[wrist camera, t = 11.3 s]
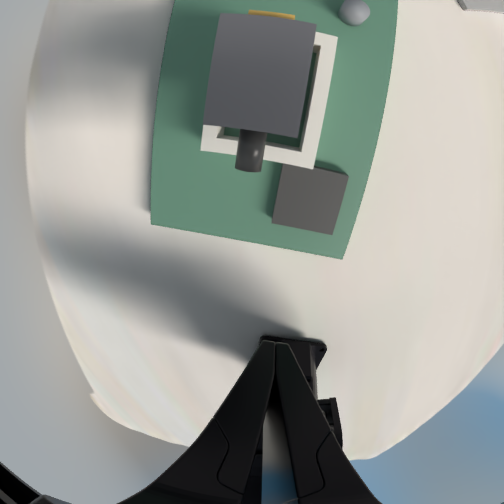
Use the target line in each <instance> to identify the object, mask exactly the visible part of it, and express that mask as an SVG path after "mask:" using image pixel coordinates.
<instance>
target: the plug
mask: <svg viewBox="0 0 504 504" xmlns="http://www.w3.org/2000/svg"><path fill="white" fill-rule="evenodd" d="M316 27H317V24H314V23H309V22H304V21H298V20H295V15H291V14H284V13H277V12H268V11H258V10H249V12H248V14H231V13H220V18H219V23H218V28H217V33H216V38H215V44H214V50H213V55H212V61H211V68H210V74H209V81H208V88H207V95H206V102H205V110H204V118H203V125H211V126H221V127H229V128H238V129H240V132H239V139H238V146H237V154H236V161H235V168H236V169H237V170H241V171H245V172H261V169H262V163H263V156H264V150H265V144H266V138H267V133H271V134H277V135H283V136H288V137H293V138H298V133H299V128H300V122H301V117H302V111H303V106H304V100H305V94H306V88H307V83H308V77H309V71H310V65H311V59H312V52H313V46H314V40H315V33H316Z"/></svg>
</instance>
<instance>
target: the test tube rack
mask: <svg viewBox="0 0 504 504" xmlns="http://www.w3.org/2000/svg"><path fill="white" fill-rule="evenodd" d="M457 1H458V2H459V4H460V6H461V7H462V9H463V10H464V11H483V12H494V13H502V14H504V0H457Z"/></svg>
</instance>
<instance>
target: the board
mask: <svg viewBox="0 0 504 504" xmlns="http://www.w3.org/2000/svg"><path fill="white" fill-rule="evenodd" d="M397 9H398V0H175V2H174V6H173V10H172V14H171V19H170V23H169V28H168V32H167V37H166V43H165V48H164V54H163V59H162V65H161V72H160V79H159V86H158V94H157V102H156V112H155V122H154V134H153V149H152V168H151V224H152V225H158V226H163V227H169V228H175V229H180V230H186V231H192V232H197V233H203V234H208V235H214V236H219V237H225V238H230V239H236V240H241V241H247V242H252V243H258V244H263V245H268V246H274V247H279V248H284V249H290V250H295V251H300V252H306V253H311V254H316V255H321V256H327V257H332V258H337V259H343V256H344V254H345V251H346V248H347V245H348V242H349V239H350V236H351V233H352V230H353V227H354V224H355V221H356V217H357V214H358V211H359V208H360V204H361V201H362V198H363V194H364V191H365V187H366V184H367V180H368V176H369V173H370V169H371V165H372V161H373V157H374V153H375V149H376V145H377V140H378V136H379V132H380V127H381V122H382V118H383V113H384V108H385V103H386V97H387V92H388V86H389V80H390V73H391V67H392V59H393V52H394V43H395V34H396V23H397ZM249 10H258V11H268V12H277V13H284V14H291V15H295V20H298V21H304V22H309V23H314V24H317V27H316V33H315V40H314V46H313V52H312V59H311V65H310V71H309V77H308V83H307V88H306V94H305V100H304V106H303V111H302V117H301V122H300V128H299V133H298V138H293V137H288V136H283V135H277V134H271V133H267V138H266V144H265V150H264V156H263V163H262V169H261V172H245V171H241V170H237V169H236V168H235V161H236V154H237V146H238V139H239V132H240V129H238V128H229V127H221V126H211V125H203V118H204V110H205V102H206V95H207V88H208V81H209V74H210V68H211V61H212V55H213V50H214V44H215V38H216V33H217V28H218V23H219V18H220V13H231V14H248V12H249Z"/></svg>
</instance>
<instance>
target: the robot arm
mask: <svg viewBox="0 0 504 504" xmlns="http://www.w3.org/2000/svg"><path fill="white" fill-rule="evenodd" d="M321 348H322V349H321ZM326 351H327V346H326V345H325V344H322V343H314V342H306V341H299V340H292V339H285V338H279V337H272V336H262V337H261V338H260V342H259V346H258V348H257V350H256V352H255V353H254V355H253V357H252V358H251V360H250V361H249V363H248V365H247V366H246V368H245V369H244V371H243V372H242V374H241V376H240V377H239V379H238V380H237V382H236V383H235V385H234V386H233V388H232V389H231V391H230V392H229V394H228V395H227V397H226V399H225V400H224V402H223V403H222V404H221V406H220V407H219V409H218V410H217V412H216V413H215V415H214V416H213V418H212V419H211V420H210V422H209V423H208V425H207V426H206V428H205V429H204V430H203V431H202V433H201V434H200V435H199V437H198V438H197V439H196V440H195V442H194V443H193V444H192V445H191V446H190V447H189V448H188V449H187V450H186V451H185V452H184V453H183V454H182V455H181V456H180V457H179V458H178V459H177V460H176V461H175V462H174V463H173V464H172V465H171V466H170V467H169V468H168V469H167V470H166V471H165V472H164V473H162V474H161V475H160V476H159V477H158V478H157V479H156V480H155V481H153V482H152V483H151V484H150V485H148V486H147V487H146V488H144V489H143V490H141V491H139V492H138V493H136V494H134V495H133V496H131V497H129V498H127V499H125V500H123V501H121V502H120V503H117V504H382V503H381V502H379V501H378V500H377V499H376V498H375V497H374V495H373V494H372V493H371V491H370V490H369V489H368V487H367V486H366V484H365V483H364V482H363V480H362V479H361V478H360V476H359V475H358V473H357V472H356V470H355V469H354V468H353V466H352V465H351V463H350V462H349V460H348V458H347V457H346V455H345V454H344V452H343V450H342V445H343V440H342V429H341V423H340V418H339V412H338V407H337V402H336V397H334V398H329V399H320V400H318V396H317V377H316V369H317V368H318V366H319V364H320V362H321V360H322V358H323V357H324V355H325V353H326ZM0 504H71V503H68V502H65V501H62V500H59V499H56V498H54V497H51V496H48V495H42V494H40V493H39V492H37V491H36V490H35V489H33V488H32V487H30V486H29V485H28V484H26V483H25V482H24V481H23V480H21V479H20V478H19V477H18V476H16V475H15V474H14V473H13V472H12V471H10V470H9V469H8V468H7V467H6V466H5V465H3V464H2V463H1V462H0ZM501 504H504V502H503V503H501Z"/></svg>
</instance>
